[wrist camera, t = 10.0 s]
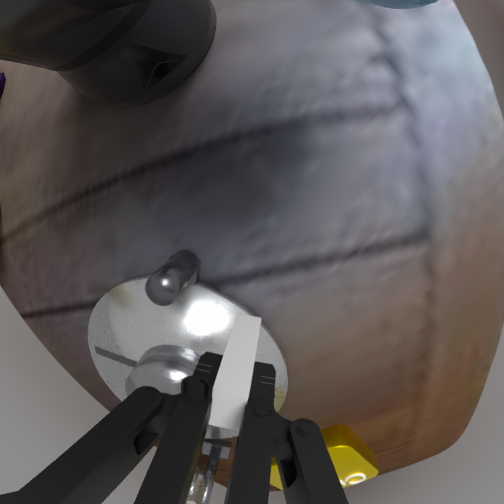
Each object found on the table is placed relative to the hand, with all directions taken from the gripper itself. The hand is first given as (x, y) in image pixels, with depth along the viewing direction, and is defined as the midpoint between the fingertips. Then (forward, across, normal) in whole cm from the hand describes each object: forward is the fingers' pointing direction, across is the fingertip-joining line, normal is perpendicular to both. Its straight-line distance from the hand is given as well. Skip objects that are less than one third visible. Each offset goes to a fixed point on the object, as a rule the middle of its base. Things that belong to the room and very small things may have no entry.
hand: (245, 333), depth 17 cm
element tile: (+10, +15, -28) cm, 33 cm away
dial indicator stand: (+9, -1, -28) cm, 30 cm away
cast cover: (+7, -6, -13) cm, 16 cm away
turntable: (+8, -6, -12) cm, 16 cm away
